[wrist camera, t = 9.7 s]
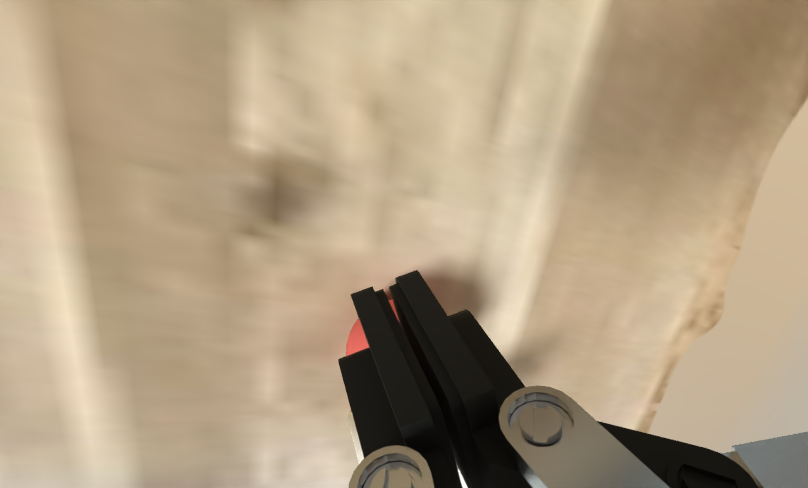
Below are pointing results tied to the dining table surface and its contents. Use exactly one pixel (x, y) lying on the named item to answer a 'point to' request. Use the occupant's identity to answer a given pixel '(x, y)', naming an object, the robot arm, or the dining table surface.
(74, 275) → the dining table surface
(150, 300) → the dining table surface
